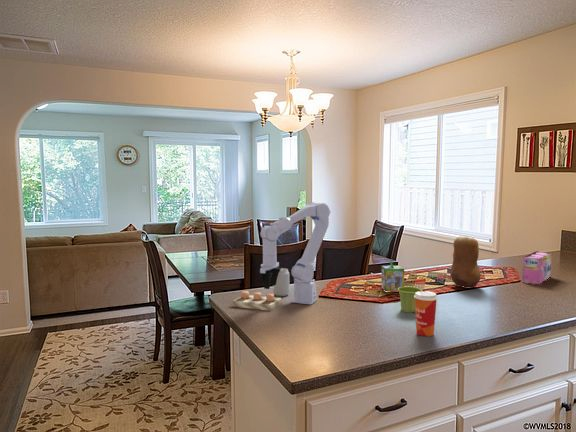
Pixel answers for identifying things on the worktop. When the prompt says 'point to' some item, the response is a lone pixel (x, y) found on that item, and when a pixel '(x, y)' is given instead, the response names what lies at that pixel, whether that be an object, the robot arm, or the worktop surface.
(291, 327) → the worktop surface
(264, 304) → the button board
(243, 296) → the button far
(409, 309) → the plant pot
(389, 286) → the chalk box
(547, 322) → the worktop surface
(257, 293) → the button mid
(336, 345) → the worktop surface
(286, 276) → the can
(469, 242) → the butternut squash
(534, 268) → the gum box
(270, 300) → the button near
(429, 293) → the paper cup
